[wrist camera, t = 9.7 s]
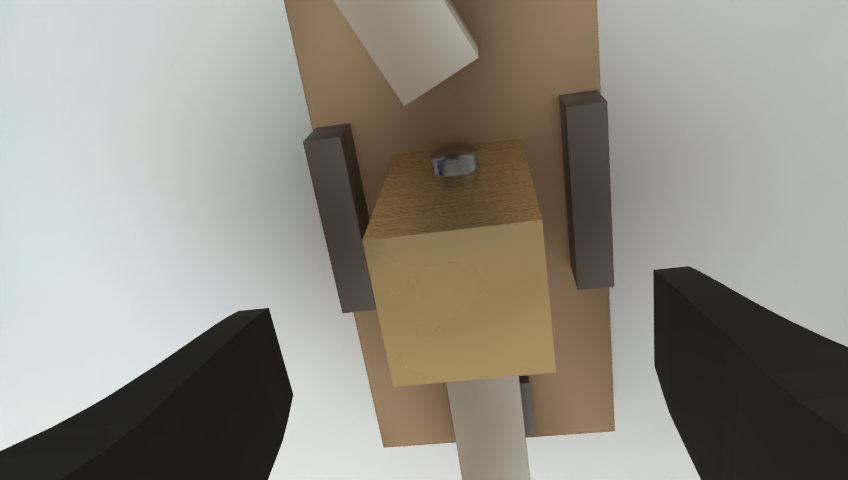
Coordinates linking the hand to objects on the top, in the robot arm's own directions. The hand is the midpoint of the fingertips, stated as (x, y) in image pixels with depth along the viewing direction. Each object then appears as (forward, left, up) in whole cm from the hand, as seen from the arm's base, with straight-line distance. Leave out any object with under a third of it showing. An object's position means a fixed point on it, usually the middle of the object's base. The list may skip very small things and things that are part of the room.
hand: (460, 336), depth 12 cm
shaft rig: (0, 0, -9) cm, 9 cm away
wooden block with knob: (0, 0, -8) cm, 8 cm away
